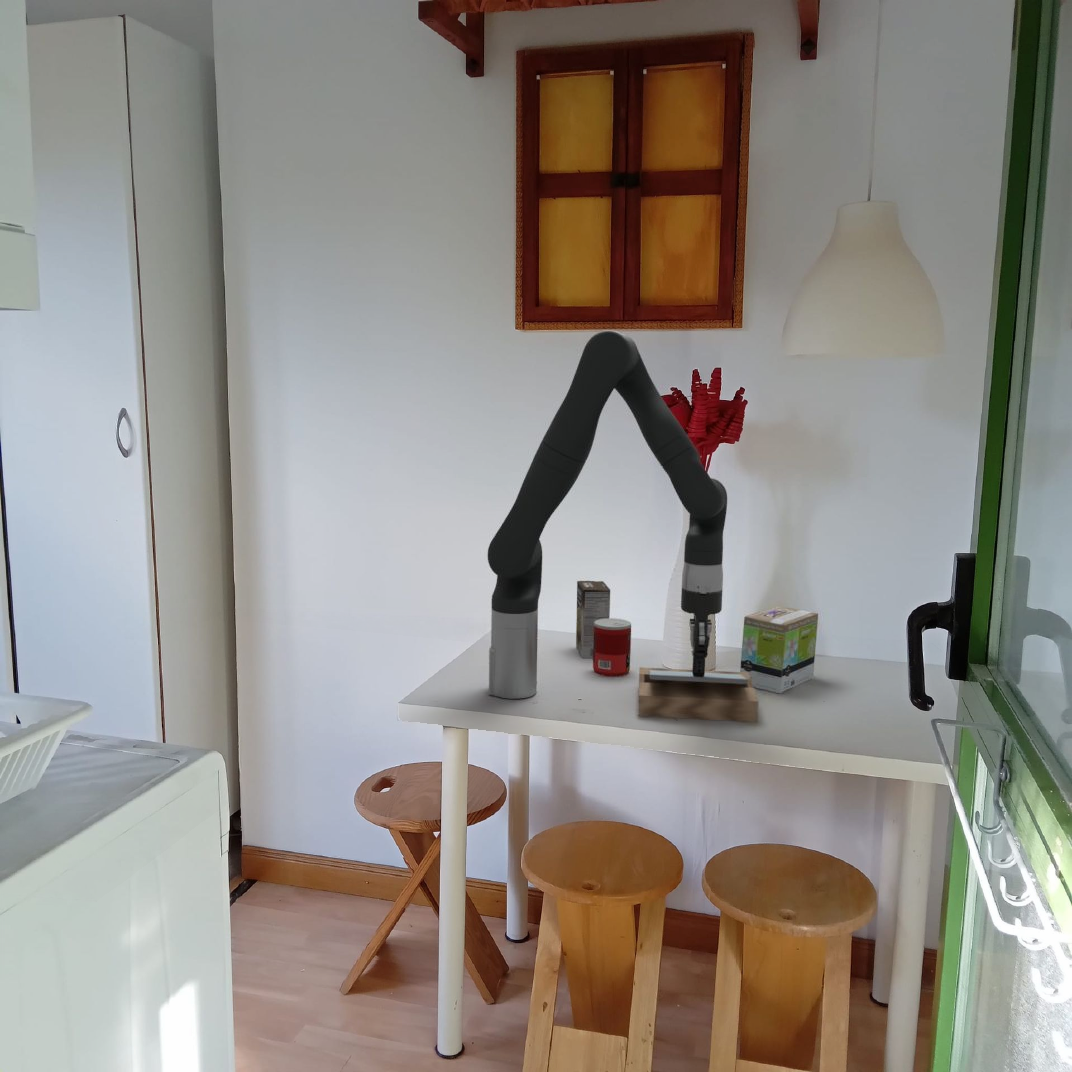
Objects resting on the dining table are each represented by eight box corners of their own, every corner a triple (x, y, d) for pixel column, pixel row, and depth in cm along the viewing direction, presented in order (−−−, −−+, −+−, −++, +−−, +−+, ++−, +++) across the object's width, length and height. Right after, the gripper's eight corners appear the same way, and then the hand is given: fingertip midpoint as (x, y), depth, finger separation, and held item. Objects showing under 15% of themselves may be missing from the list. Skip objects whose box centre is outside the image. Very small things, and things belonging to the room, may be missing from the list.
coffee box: (574, 647, 229) (576, 580, 226) (601, 647, 230) (603, 580, 227) (580, 658, 220) (582, 588, 217) (608, 658, 221) (611, 588, 218)
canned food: (634, 676, 208) (636, 626, 206) (598, 678, 206) (600, 627, 204) (623, 665, 215) (624, 617, 213) (588, 667, 213) (589, 618, 212)
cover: (650, 679, 183) (650, 675, 183) (649, 674, 195) (649, 670, 195) (747, 684, 181) (747, 679, 181) (740, 678, 193) (740, 674, 193)
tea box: (782, 695, 197) (786, 624, 195) (738, 684, 203) (741, 615, 201) (814, 678, 208) (819, 611, 206) (772, 669, 215) (775, 603, 212)
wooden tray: (638, 715, 183) (638, 695, 183) (638, 686, 201) (639, 667, 200) (757, 722, 181) (758, 701, 180) (747, 691, 199) (748, 672, 198)
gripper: (680, 578, 188) (677, 664, 191) (683, 593, 175) (679, 685, 178) (719, 579, 187) (715, 666, 190) (725, 594, 175) (721, 687, 177)
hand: (698, 675), depth 184 cm, fingers closed
